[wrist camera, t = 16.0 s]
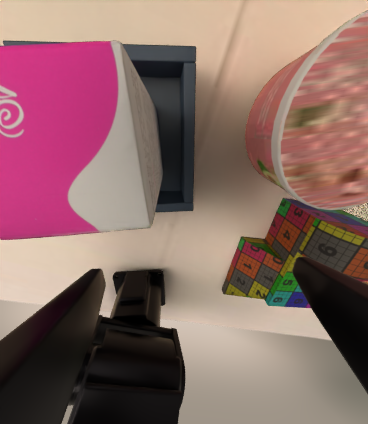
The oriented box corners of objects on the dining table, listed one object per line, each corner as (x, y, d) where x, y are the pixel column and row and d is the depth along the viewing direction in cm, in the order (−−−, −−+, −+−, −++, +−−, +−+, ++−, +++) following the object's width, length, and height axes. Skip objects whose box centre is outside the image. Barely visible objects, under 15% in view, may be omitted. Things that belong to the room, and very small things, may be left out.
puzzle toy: (257, 194, 20) (314, 234, 12) (333, 206, 21) (427, 248, 14) (221, 289, 26) (244, 356, 18) (283, 293, 27) (328, 357, 20)
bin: (188, 195, 19) (193, 211, 15) (83, 198, 18) (60, 216, 14) (188, 68, 14) (196, 45, 11) (48, 66, 14) (1, 39, 10)
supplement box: (156, 103, 15) (127, 33, 4) (164, 173, 17) (156, 237, 7) (86, 107, 14) (-129, 41, 4) (104, 177, 17) (0, 251, 6)
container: (230, 70, 15) (290, 12, 8) (350, 52, 15) (523, -24, 8) (232, 188, 19) (271, 222, 12) (325, 173, 19) (419, 198, 12)
